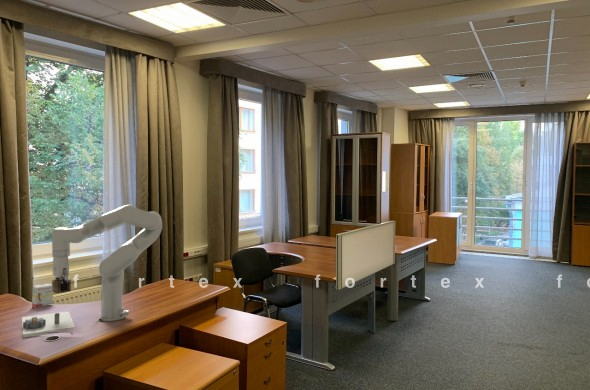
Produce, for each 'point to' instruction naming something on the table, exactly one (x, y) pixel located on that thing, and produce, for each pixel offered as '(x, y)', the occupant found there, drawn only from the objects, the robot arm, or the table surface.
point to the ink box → (42, 295)
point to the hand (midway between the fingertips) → (61, 289)
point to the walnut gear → (57, 286)
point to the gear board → (45, 323)
